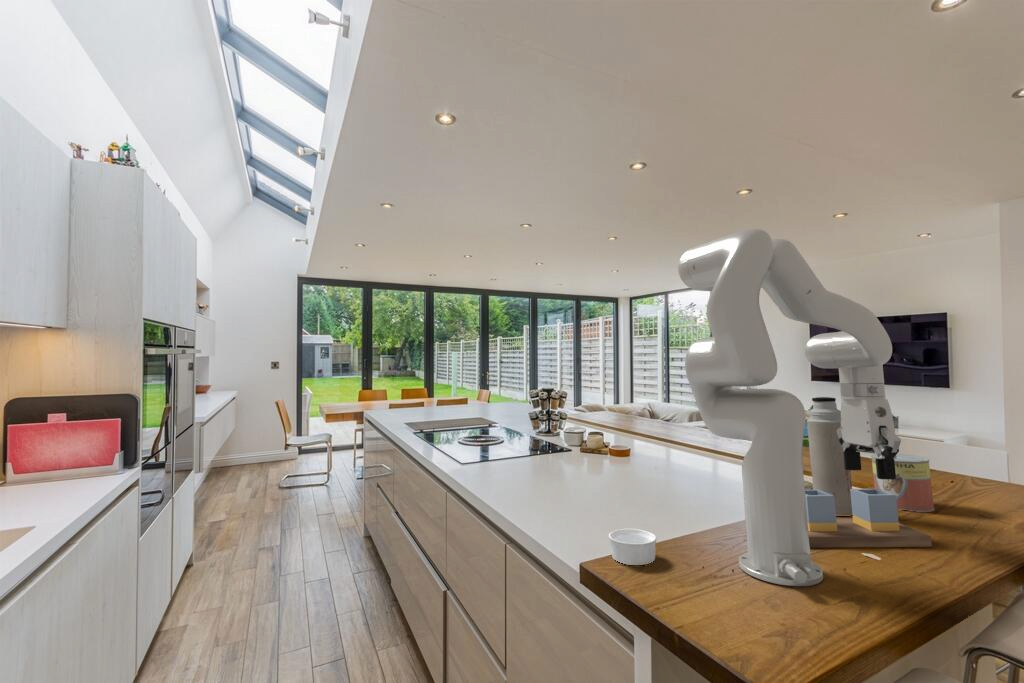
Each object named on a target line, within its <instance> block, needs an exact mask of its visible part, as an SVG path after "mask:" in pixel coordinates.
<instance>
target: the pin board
mask: <svg viewBox="0 0 1024 683" xmlns="http://www.w3.org/2000/svg"><path fill="white" fill-rule="evenodd" d="M836 521H837V531H808V533H809V545H810V548H932V547H933V544H932V536H931V535H929V534H926V533H924V532H921V531H919V530H916V529H915V528H913V527H912V528H911V527H909V526H907V525H905V524H902V523H900V522H899V530H900V531H871V530H869V529H866V528H864V527H862V526H860V525H858V524H856V523H853V517H836Z"/></svg>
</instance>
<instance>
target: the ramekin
mask: <svg viewBox="0 0 1024 683" xmlns="http://www.w3.org/2000/svg"><path fill="white" fill-rule="evenodd" d="M608 540H609V543H610V551H611V556H612V559H613V560H614V561H615V560H616V561H615V562H617V561H618V562H620V563H619V564H621V563H623V564H622V565H624V564H627V565H626V566H628V565H643V564H648V563H651V562H652V563H654V562H655V559H656V542H657V536H656V535H655V534H654V533H652V532H649V531H647V530H643V529H638V528H621V529H616V530H612V531H611V532H609V533H608ZM653 561H654V562H653ZM618 562H617V563H618ZM652 563H651V564H652Z"/></svg>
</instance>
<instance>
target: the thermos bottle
mask: <svg viewBox="0 0 1024 683" xmlns="http://www.w3.org/2000/svg"><path fill="white" fill-rule="evenodd" d="M811 401H812V402H813V403H812V409H810V410H809V414H808V416H809V419H807V420H806V422H807V423H806V424H807V425H806V426H807V435H808V436H807V437H808V446H809V448H808V449H809V458H810V470H811V476H812V477H811V478H812V480H811V481H812V490H814V489H818V490H821V491H823V492H826V493H828V494H831V495H833V496H834V499H835V510H836V514H837V515H851V514H852V504H851V493H850V489H853V484H852V483H853V481H852V474H851V473H852V472H851V471H852V470H846V469H845V467H844V454H843V451H842V449H841V447H842V445H841V444H840V442H839V437H838V434H837V429H839V428H840V427H841V409H838V406H837V400H836V398H835V397H829V396H828V397H827V396H826V397H825V396H822V397H821V396H819V397H812V398H811Z"/></svg>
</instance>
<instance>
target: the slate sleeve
mask: <svg viewBox="0 0 1024 683" xmlns="http://www.w3.org/2000/svg"><path fill="white" fill-rule="evenodd" d="M850 493H851V504H852V514H853V516H852V518H853V523H856V524H858V525H860V526H862V527H864V528H866V529H869V530H871V531H900V530H899V523H900V522H899V520H900V519H899V510H897V500H896V495H894V494H891V493H888V492H885V491H882V490H879V489H875V488H852V489H850Z"/></svg>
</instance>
